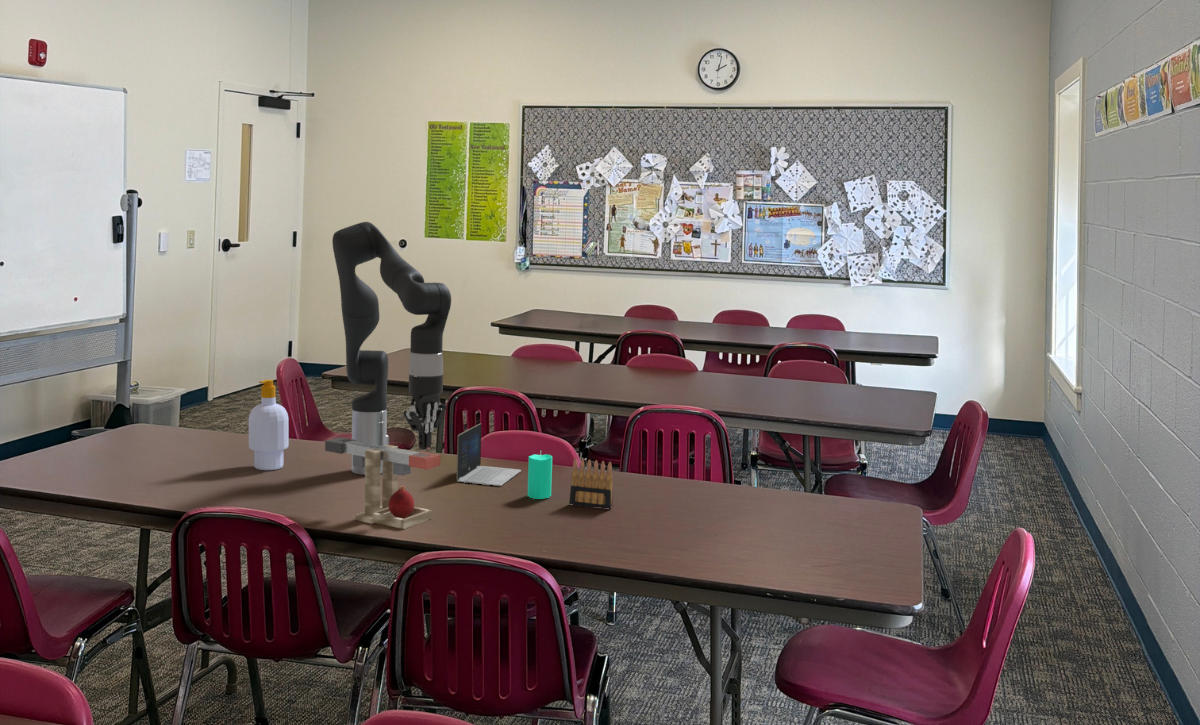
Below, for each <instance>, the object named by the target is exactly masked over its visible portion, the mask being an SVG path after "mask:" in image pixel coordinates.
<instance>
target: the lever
mask: <svg viewBox="0 0 1200 725" xmlns="http://www.w3.org/2000/svg"><path fill="white" fill-rule="evenodd" d="M370 449H372V450H378V451H381V460H384V461H390V462H393V474H397V476H402V477H403V476H406V475H409V474H411V473H412V472H411V470H412V468H417V469H422V470H429V469H433V468H436V467H440V466H441V459H442V457H441V456H442V455H441V454H437V453H432V452H425V451H421V452H419V451H414V450H407V449H403V448H402V449H401V448H399V447H398V448H392V447H386V446H381V445H375V444H369V443H364V442H358V441H356V440H353V439H352V438H347V437H346V438H345V437H336V438H332V439H327V440H325V442H324V450H325V452H331V453H334V454H335V453H336V454H341V455H342V454H348V455H351V456H352V455H353V466H355V467H360V468H364V467H365V451H366V450H370ZM411 467H412V468H411Z"/></svg>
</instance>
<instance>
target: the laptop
mask: <svg viewBox="0 0 1200 725" xmlns="http://www.w3.org/2000/svg"><path fill="white" fill-rule="evenodd" d="M456 447H457V448H456V449H457V450H456V451H457V452H456V482H464V483H463V484H465V483H470V484H471V483H472V485H477V484H482V485H481V486H490V485H493V486H492V487H501V486H504V484H506V483H507V482H508V481H510V480H511V479H513V477H515V476H516V475H517V474H519V473H520V472H522V470H521V469H517V468H516V469H515V468H508V467H507V468H506V467H497V466H487V465H481V459H482V458H481V457H482V453H481V452H482V423H479V424H476V425H474V426H473V427H471V428H468V429H467V430H464V431H463V432H461V433H459V434H458V435H457V446H456Z"/></svg>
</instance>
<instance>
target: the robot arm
mask: <svg viewBox="0 0 1200 725" xmlns="http://www.w3.org/2000/svg"><path fill="white" fill-rule="evenodd" d="M331 242H332V249H333V250H332V251H333V255H334V259H335V260H334V261H335V264H336V271H337V274H338V275H337V276H338V281H339V282H338V283H339V289H340V302H341V304H340V305H341V315H342V323H343V329H344V330H343V331H344V336H345V337H344V338H345V366H346V367H345V368H346V369H345V370H346V375H347V379H348V381H349V383H351V384H353V385H368V386H369V385H370V386H371V385H372V386H373V385H374V389H373V390H371V391H370V392H368V393H366V394H362V395H359V396H357V397H354V398H353V399H352V402H351V439H353V440H356V441H358V442H364V443H369V444H375V445H381V446H385V445H390V444H389V443H390V437H389V435H388V434H387V433H388V432H387V429H388V426H387V424H388V420H387V418H388V415H387V414H388V412H387V411H388V406H387V405H388V400H387V399H388V394H387V393H388V376H389V357H388V354H387V352H386V351H384V350H367V349H366V350H364V349H363V350H361V347H362V345H363V344H364V342H365V341H366V340H367V339H368V338H369V337H370V336H371V334H373V332H374V331H375V329H376V328H377V326H378V324H379V322H380V306H379V305H380V303H379V298H378V295H377V294H376V292H375V291H374V290H373V289H372V288H371V286H369V285H368V284H366V283H365V282H364V281H363V280H362V279H360V277H359V276H358V275H357V274H356V267H357V266H358V265H361V264H364V263H366V262H369V261H373V260H374V259H376V258H378V259H380V264H379V273H380V277H381V280H382V281H383V283H384V284H385V285H386V287H388V288H390V289H391V290H392V292H394V293H395V294H396V295H397V296H398V299H399V301H400V302H401V303H402V304H401V305H402V306H403V308H404V310H406V312H407V313H410V314H411V315H415V316H417V315H418V316H424V315H425V316H426V315H427V318H426V319H425V322H423V323H421V324H419V325H415V326H413V327H412V328H411V330H410V353H409V361H408V363H409V364H408V393H409V394H411V401H410V407H409V409H408V410H404V411H403V413H402V414H403V416H404V418H405V420H406V422H407V423H408V426H409V427H410V429H411V430H412V431H415V432H417V434H418V448H419V449H420V450H429V449H431V447H432V433H433V432H434V429H438V428H439V426H440V423H441V421H442V418H443V416H444V414H445V412H446V410H447V407H448V406H447V405H446V404H442V403H441V397H440V395H441V394H443V390H444V358H443V336H444V333H445V332H444V331H445V327H446V324H447V321H448V317H449V313H450V310H451V306H452V295H451V294H452V293H451V292H450V289H449V288H448V286H447V285H446V284H445V283H442V282H425V278H424V277H423V274H421V272H419V270H417V269H416V268H415V267H414V266H412V265H411V264H410V263H409V262H407V261H406V260H405V259H404V258H403V257H402V256H401V255H400V254H399V252H397V250H396V249H395V248H394V246H393V245H392V244H391V242H389V240H388V239H387V238H386V236H385V235H384V234H383V233H382V232H381V230H380V229H379V228H378V227H377V226H376V225H375V224H374V223H372V222H369V221H363V222H358V223H356V224H352V225H350V226H345V227H344V228H341V229H339V230H337V231H335V232H334V233H333V235H332V241H331ZM382 468H383V460H381V471H380V475H381V474H382ZM351 472H352V473H353V474H355V475H360V476H361V475H362V476H365V467H364V468H360V467H355V466H353V455H352V454H351Z"/></svg>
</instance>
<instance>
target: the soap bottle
mask: <svg viewBox="0 0 1200 725" xmlns="http://www.w3.org/2000/svg"><path fill="white" fill-rule="evenodd" d="M258 383H259V384H263V385H261V386H260V387H261V390H260V391H261V403H259V404H256V406H254V407H253V408H252V409H251V410H250V412H249V416H248V449H250V451H253V456H254V457H253V466H254V468H255V469H257V470H258V471H259V470H260V471H274V470H275V471H276V470H279V469H280V470H281V469H282V468H283V467H284V450H286V449H288V448H289V447H290V446H289V414H288V412H287V410H286V408H285V407H284V406H282V405H281V404H278V403H277V402H276V385H274V379H264V380H261V381H260V380H259V382H258Z"/></svg>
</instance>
